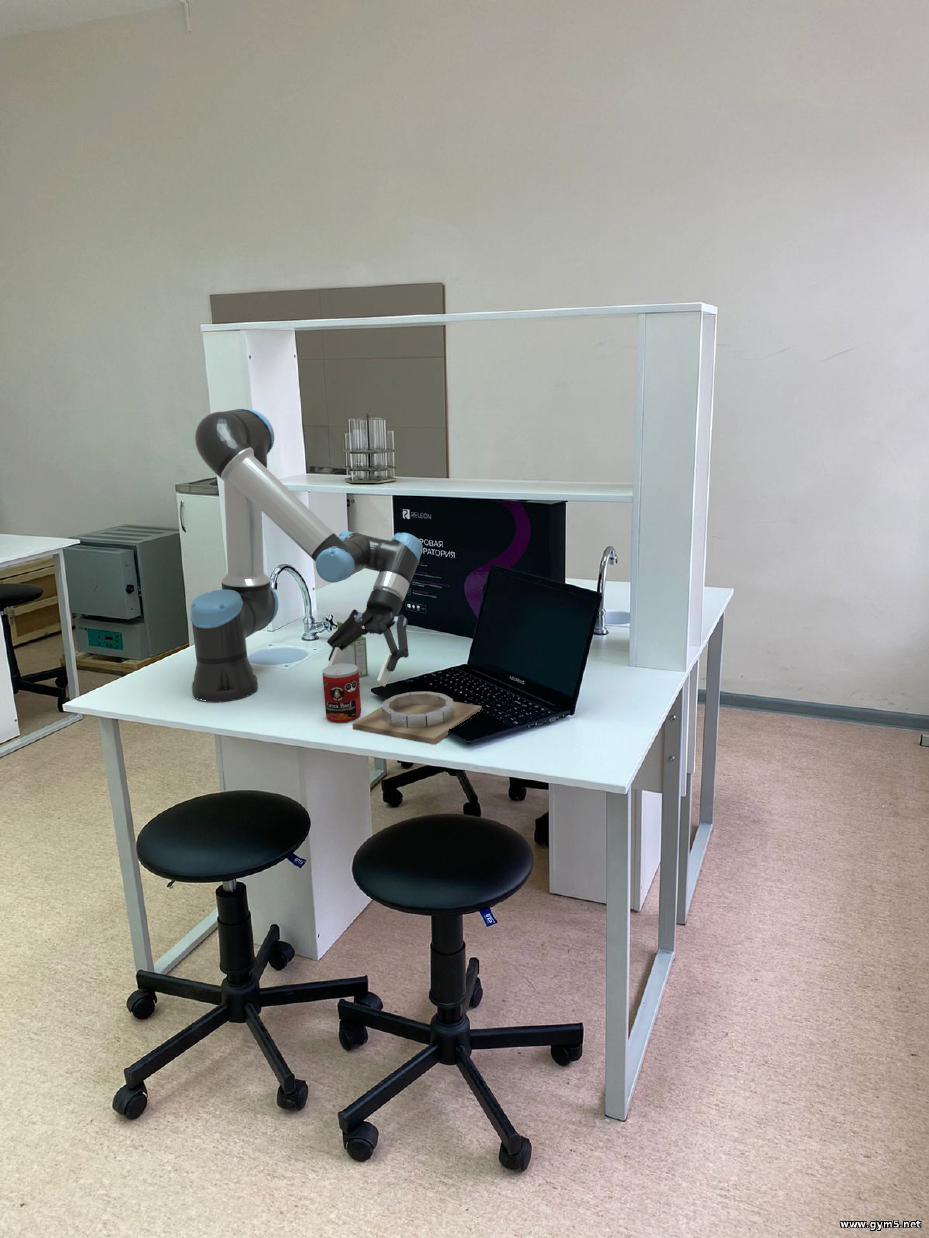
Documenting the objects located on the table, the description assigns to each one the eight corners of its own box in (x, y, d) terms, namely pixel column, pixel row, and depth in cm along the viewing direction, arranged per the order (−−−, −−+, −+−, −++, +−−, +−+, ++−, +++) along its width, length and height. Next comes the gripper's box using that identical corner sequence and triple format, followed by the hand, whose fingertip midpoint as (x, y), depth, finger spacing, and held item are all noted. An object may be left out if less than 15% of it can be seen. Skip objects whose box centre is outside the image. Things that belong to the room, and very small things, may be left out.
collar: (369, 721, 200) (368, 710, 199) (407, 698, 212) (406, 688, 212) (430, 732, 192) (429, 720, 192) (465, 708, 205) (465, 697, 204)
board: (352, 728, 199) (352, 723, 199) (404, 698, 216) (403, 693, 215) (434, 744, 190) (434, 738, 189) (481, 711, 206) (481, 706, 206)
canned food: (321, 723, 203) (317, 674, 200) (331, 709, 210) (328, 662, 208) (356, 723, 202) (353, 675, 199) (365, 710, 209) (362, 663, 206)
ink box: (369, 675, 233) (365, 622, 229) (355, 679, 230) (351, 626, 227) (353, 669, 238) (349, 617, 234) (340, 672, 236) (336, 620, 232)
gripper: (441, 609, 211) (410, 694, 203) (349, 600, 223) (316, 680, 215) (428, 591, 206) (395, 678, 197) (334, 583, 217) (300, 665, 209)
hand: (354, 679), depth 206 cm, fingers open, 13 cm apart
